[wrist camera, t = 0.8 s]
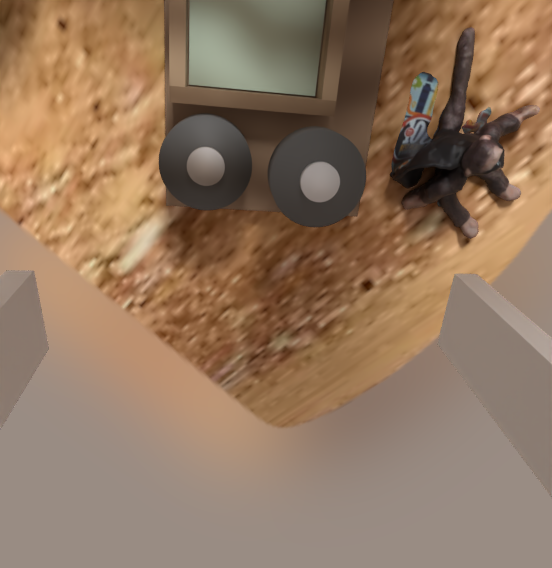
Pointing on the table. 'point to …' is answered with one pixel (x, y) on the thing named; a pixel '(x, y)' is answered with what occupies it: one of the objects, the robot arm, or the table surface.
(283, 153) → the wheel
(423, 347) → the table surface
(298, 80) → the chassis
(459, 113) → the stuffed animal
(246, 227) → the table surface
